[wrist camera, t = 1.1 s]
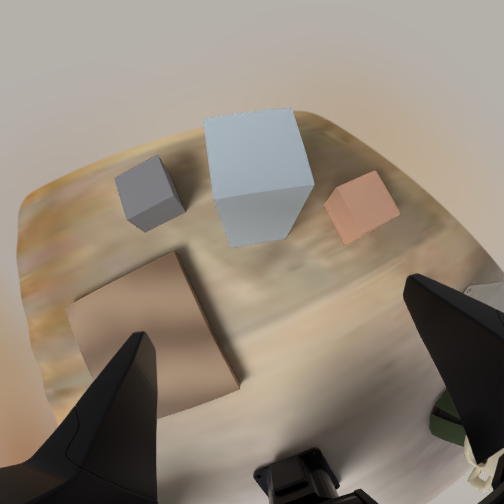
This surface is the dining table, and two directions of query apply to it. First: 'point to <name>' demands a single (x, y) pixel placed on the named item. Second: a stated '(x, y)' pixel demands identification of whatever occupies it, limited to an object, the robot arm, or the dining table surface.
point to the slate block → (257, 174)
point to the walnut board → (156, 333)
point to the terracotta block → (360, 206)
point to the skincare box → (488, 294)
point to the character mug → (461, 441)
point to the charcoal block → (148, 195)
